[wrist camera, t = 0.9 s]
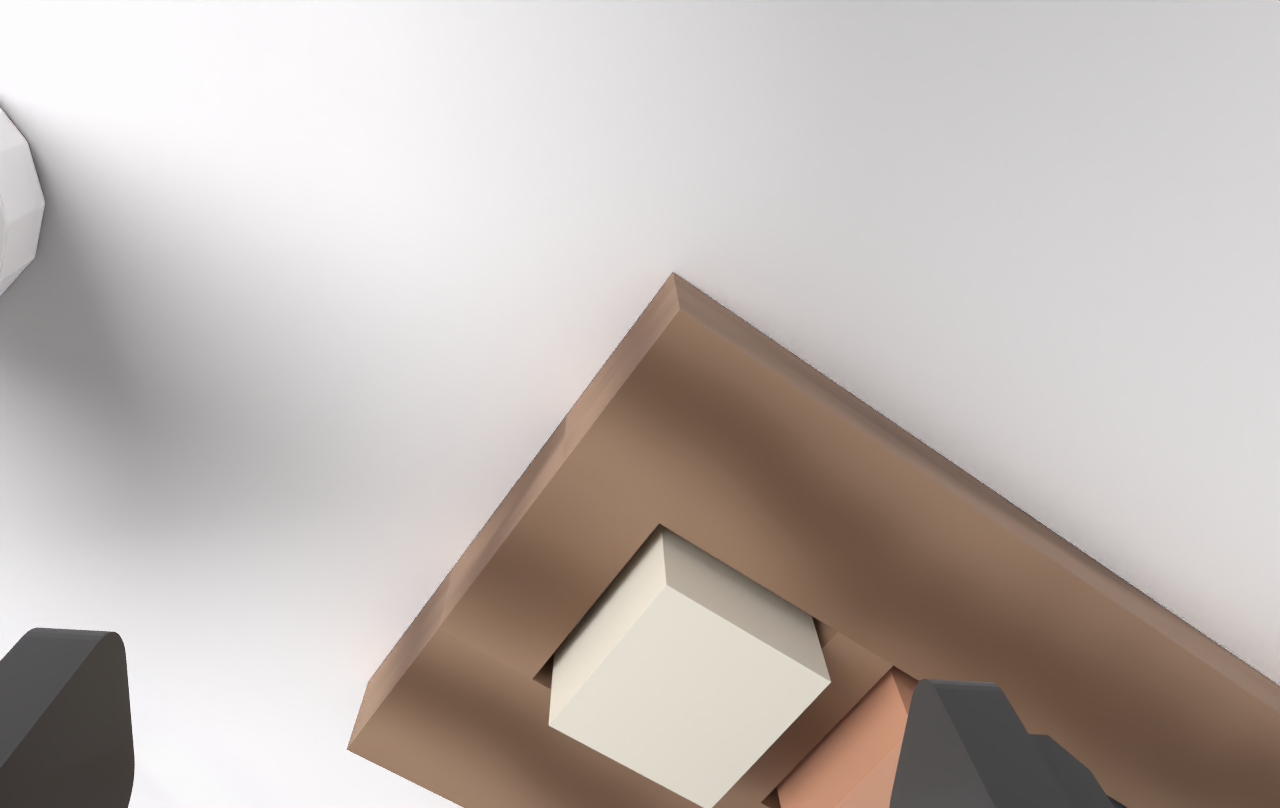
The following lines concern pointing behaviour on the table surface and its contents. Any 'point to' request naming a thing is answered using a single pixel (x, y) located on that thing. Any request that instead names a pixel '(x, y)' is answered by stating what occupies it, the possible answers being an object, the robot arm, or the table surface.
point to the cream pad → (685, 670)
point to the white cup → (17, 203)
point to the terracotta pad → (855, 752)
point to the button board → (797, 590)
